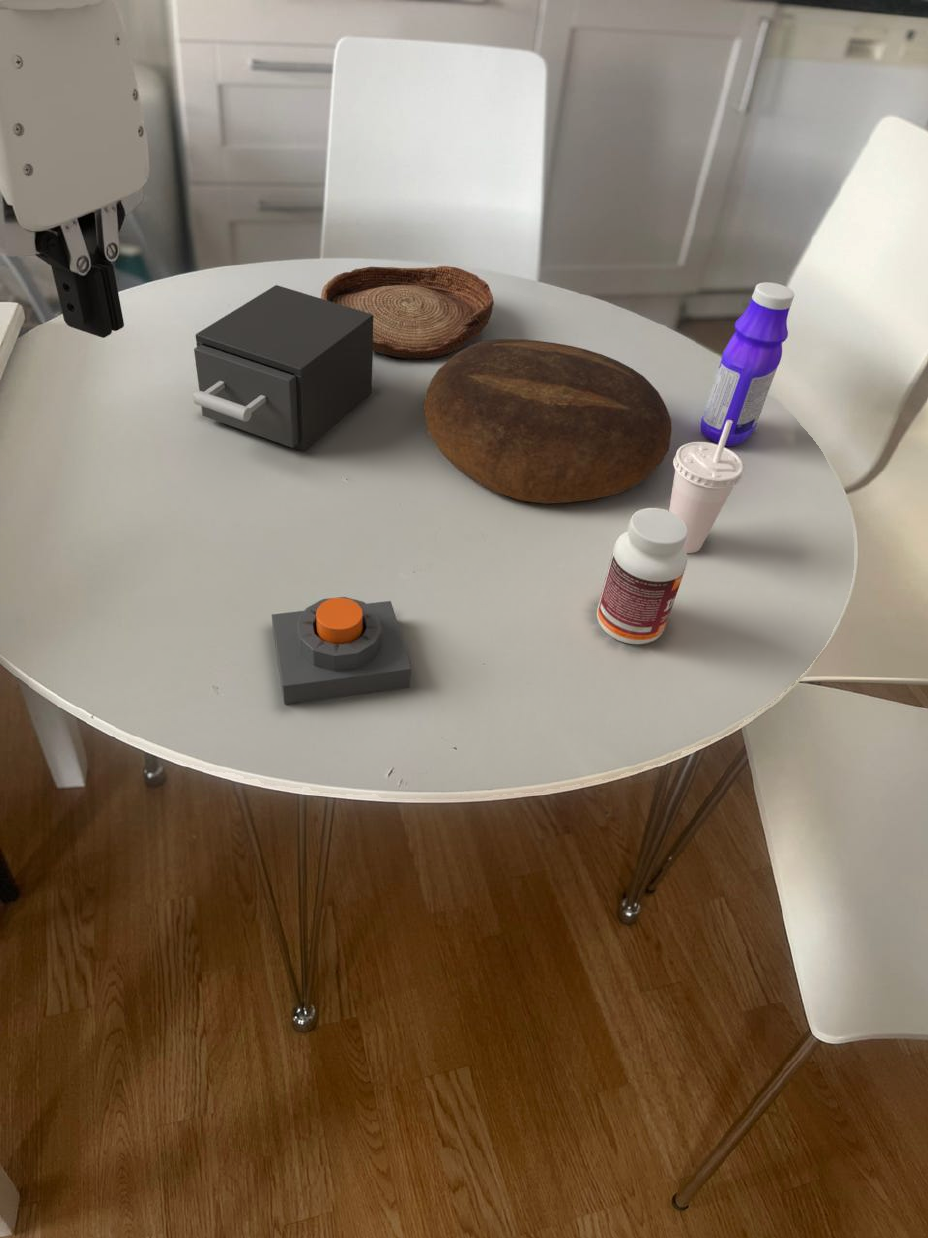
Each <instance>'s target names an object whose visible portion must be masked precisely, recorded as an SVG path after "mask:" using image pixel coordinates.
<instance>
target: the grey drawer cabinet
mask: <svg viewBox="0 0 928 1238" xmlns="http://www.w3.org/2000/svg"><path fill="white" fill-rule="evenodd" d="M195 341H196V342H195V343H196V347H198V346H199V345H204V346H207V347H210V348H213V349H216V348H218V349H221V350H224V351H227V352H230V353H233V354H236V355H239V356H242V357H245V358H248V359H251V360H254V361H257V362H260V363H263V364H266V365H269V366H272V367H275V368H278V369H281V370H284V371H287V372H290V373H293V374H295V376H296V391H297V413H298V435H299V443H298V444H297V445H296V446H294V447H293V448H292V449H297V450H299V451H302V452H305V451H306V450H308V449H309V448H310V447H311V446H313V445H314V444H315V443H316V442H317V441H318V440H320V438H322V437H323V435H325V434H326V433H327V432H328V431H330V430H331V429H332V428H333V427H334V426H335V425H336V424H338V423H339V422H340V421H341V420H342V419H343V418H345V417H346V416H347V415H348V414H349V413H350V412H352V410H354V409H355V408H356V407H357V406H358V405H359V404H361V403H362V402H363V401H365V399H367V397H368V396H370V395H371V394H372V393H373V359H374V355H373V354H374V351H373V314H370V313H366V312H363V311H360V310H357V309H353V308H350V307H347V306H344V305H340V304H337V303H334V302H330V301H327V300H324V299H321V297H317V296H314V295H310V294H308V293H304V292H301V291H297V290H294V289H292V288H288V287H285V286H281V285H278V284H275V285H274V286H272V287H271V288H269V289H267V290H265V291H264V292H262V293H261V294H259V295H257V296H256V297H254V298H252V299H251V300H249V301H247V302H246V303H244V304H243V305H241V306H239V307H238V308H236V309H234V310H232V311H231V312H229V313H228V314H226V315H225V316H223V317H222V318H219V319H218V320H217V321H215V322H213V323H212V324H210V325H209V326H207V327H205V328H204V329H202V330H200V331H198V332H197V333H195Z"/></svg>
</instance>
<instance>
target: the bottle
mask: <svg viewBox="0 0 928 1238" xmlns="http://www.w3.org/2000/svg"><path fill="white" fill-rule="evenodd" d="M794 297H795V292H794V291H793V290H792V289H791V288H790V287H788V286H785V285H784V284H780V283H776V282H767V281H765V282H759V283H758V284H756V286H755V288H754V290H753V293H752V295H751V299H750V302H749V304H748V306H747V308H746V310H745V311H744V313H743V314H741V315H740V317H738V318H737V320H736V321H735V323H734V330H735V332H734V333H733V335H732V336H731V338H730V339H729V341H728V342H727V344H726V346H725V348H724V350H723V353H722V355H721V361H720V363H719V366H718V368H717V372H716V375H715V379H714V382H713V385H712V388H711V391H710V393H709V397H708V400H707V403H706V406H705V409H704V412H703V415H702V416H701V420H700V433H701V434H702V436H704V437H705V438H707V439H708V440H710V441H712V442H713V443H715V444H717V445H718V444H719V441H720V438H721V436H722V433H723V430H724V427H725V424H726V421H727V420H731V421H732V422H733V423H732V426H731V429H730V431H729V434H728V437H727V440H726V443H725V446H724V447H735V446H737V445H740V444H742V443H744V442H745V441H747V439H749V438H750V437H751V436H752V434H753V433H754V431H755V429H756V427H757V425H758V421H759V419H760V416H761V413H762V412H763V411H762V410H763V408H764V405H765V401H766V399H767V397H768V394H769V391H770V389H771V386H772V383H773V380H774V378H775V375H776V373H777V370H778V367H779V365H780V363H781V360H782V356H783V343H784V342H785V341H786V340H787V339H788V337H789V331H788V316H789V312H790V309H791V307H792V303H793V300H794Z"/></svg>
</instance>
